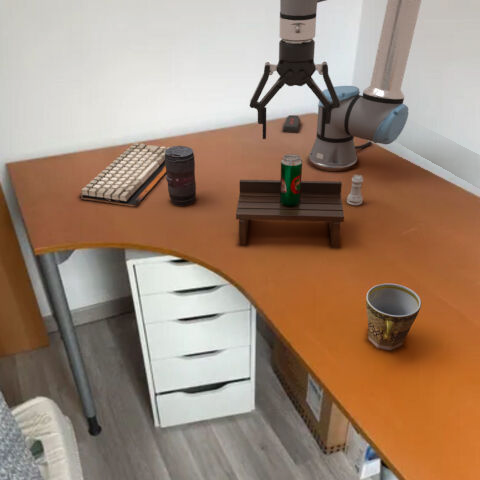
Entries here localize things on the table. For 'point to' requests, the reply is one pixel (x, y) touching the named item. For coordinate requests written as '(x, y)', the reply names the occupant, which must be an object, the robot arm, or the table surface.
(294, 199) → the soda can
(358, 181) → the rook chess piece
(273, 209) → the dark brown wooden bench
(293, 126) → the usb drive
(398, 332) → the ceramic cup
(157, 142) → the table surface
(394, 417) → the table surface
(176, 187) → the camera lens
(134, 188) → the mechanical keyboard
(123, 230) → the table surface
